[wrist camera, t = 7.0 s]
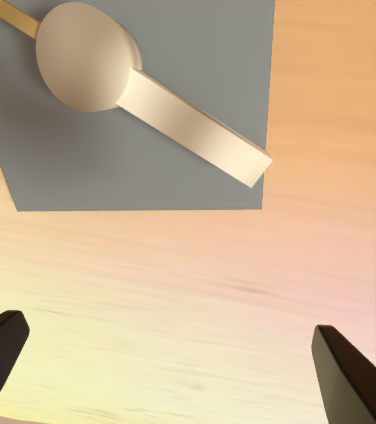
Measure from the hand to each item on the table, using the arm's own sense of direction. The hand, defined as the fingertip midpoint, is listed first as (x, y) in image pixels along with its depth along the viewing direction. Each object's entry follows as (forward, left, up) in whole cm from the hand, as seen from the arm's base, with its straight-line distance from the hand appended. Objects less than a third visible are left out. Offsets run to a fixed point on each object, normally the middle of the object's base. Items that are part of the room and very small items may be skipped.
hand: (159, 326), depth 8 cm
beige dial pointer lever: (+5, -8, -10) cm, 14 cm away
